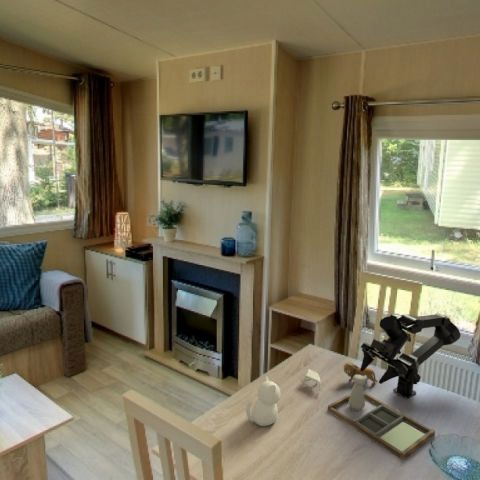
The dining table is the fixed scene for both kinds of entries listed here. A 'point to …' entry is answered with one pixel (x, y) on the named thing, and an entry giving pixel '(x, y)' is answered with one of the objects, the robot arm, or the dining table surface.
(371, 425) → the trap pits
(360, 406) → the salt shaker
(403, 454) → the wooden frame
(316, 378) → the origami figure
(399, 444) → the pad
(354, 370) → the lion figurine
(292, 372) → the dining table surface
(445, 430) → the dining table surface
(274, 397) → the cat figurine
